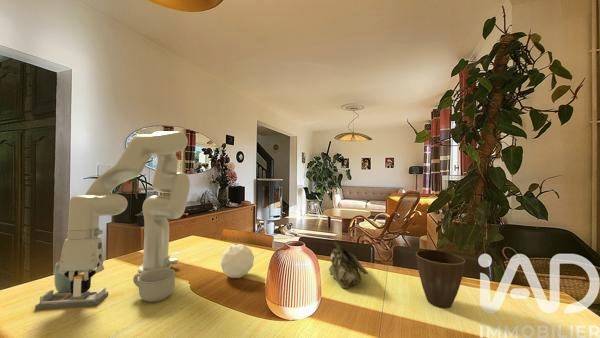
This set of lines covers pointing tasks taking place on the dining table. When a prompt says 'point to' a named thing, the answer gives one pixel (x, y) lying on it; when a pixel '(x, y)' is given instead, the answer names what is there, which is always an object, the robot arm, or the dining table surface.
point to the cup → (61, 281)
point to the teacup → (155, 284)
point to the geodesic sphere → (237, 260)
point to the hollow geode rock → (345, 267)
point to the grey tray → (65, 300)
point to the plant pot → (440, 276)
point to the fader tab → (78, 287)
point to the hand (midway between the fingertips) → (80, 291)
